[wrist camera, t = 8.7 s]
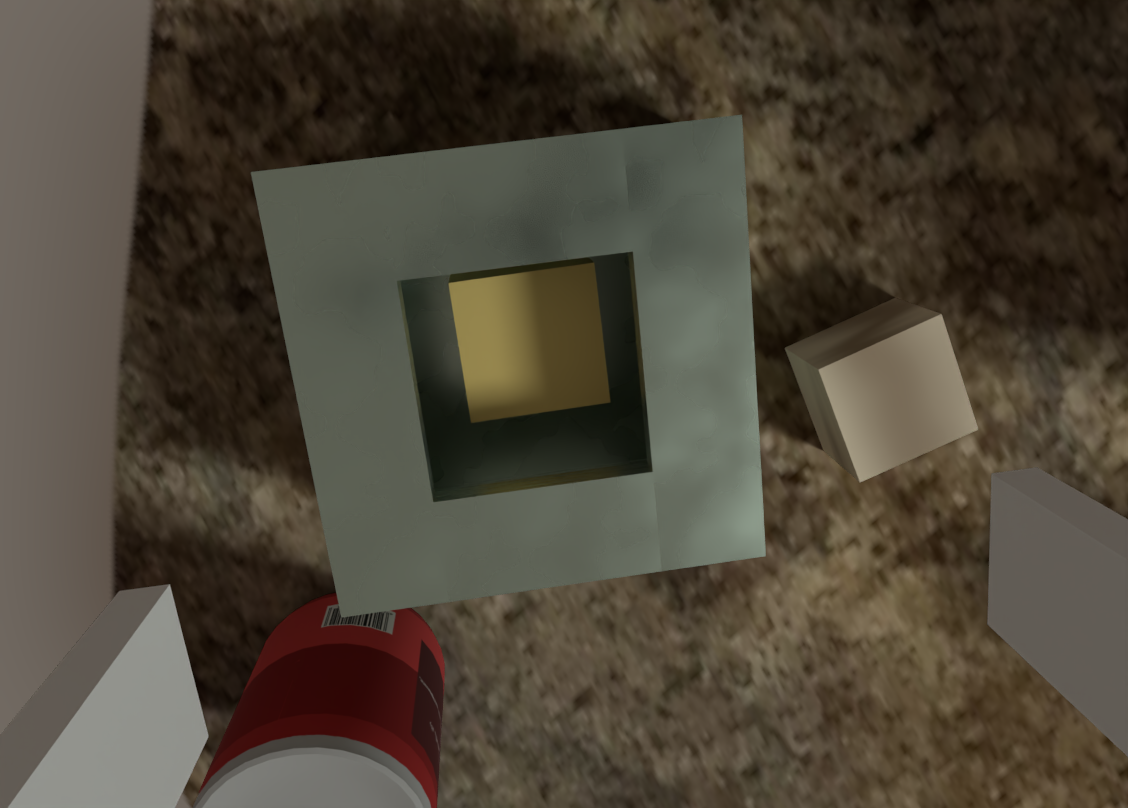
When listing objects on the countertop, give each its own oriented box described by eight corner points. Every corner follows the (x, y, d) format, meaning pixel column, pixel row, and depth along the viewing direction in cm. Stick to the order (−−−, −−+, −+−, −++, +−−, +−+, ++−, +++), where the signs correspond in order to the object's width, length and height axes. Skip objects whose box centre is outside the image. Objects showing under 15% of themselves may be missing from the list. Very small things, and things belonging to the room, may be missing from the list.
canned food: (225, 644, 39) (130, 828, 28) (381, 550, 38) (344, 702, 28) (329, 768, 41) (276, 984, 30) (478, 681, 40) (478, 869, 30)
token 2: (893, 297, 37) (941, 313, 34) (928, 401, 39) (978, 429, 35) (783, 347, 37) (818, 369, 34) (822, 449, 39) (859, 482, 35)
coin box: (676, 123, 34) (741, 114, 26) (701, 465, 38) (765, 556, 30) (309, 166, 34) (250, 171, 25) (372, 510, 38) (341, 617, 29)
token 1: (581, 250, 34) (594, 262, 31) (596, 375, 36) (610, 402, 32) (451, 268, 34) (448, 283, 30) (472, 393, 36) (471, 422, 32)
